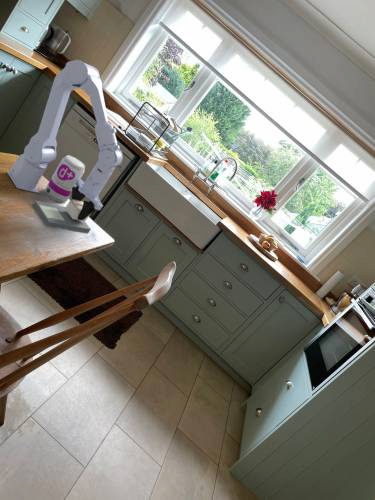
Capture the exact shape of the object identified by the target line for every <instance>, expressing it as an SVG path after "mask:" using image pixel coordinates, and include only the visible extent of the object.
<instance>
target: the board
mask: <svg viewBox="0 0 375 500" xmlns="http://www.w3.org/2000/svg"><path fill="white" fill-rule="evenodd" d="M32 205H33V207H34V208H35V209H36V211H37V213H38V214H39V216H40V218H41V219H42V220H43V222H44V223H45V225H46V226H47V227H50V228H56V229H57V228H58V229H64V230H69V231H76V232H77V231H78V232H82V233H87V234H88V233H90V231H91V228H90V226H89V225H88V223H87V222H86V221H82V220H74V219H72V218H71V217H70V215H69V213H68V212H67V211H66V209H65V208H66V206H62V205H58V204H53V203H49V202H43V201H39V200H34V201H33V204H32Z"/></svg>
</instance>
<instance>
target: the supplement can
mask: <svg viewBox="0 0 375 500" xmlns="http://www.w3.org/2000/svg"><path fill="white" fill-rule="evenodd" d="M85 169H86V165H85V163H84V162H83V161H81V160H80V159H78V158H77V157H74V156H72V155H70V154H68V155H66V156H64V157H62V159H61V161H60V162H59V164H58V166H57V168H56V170H55V171H54V172H53V175H52V176H51V178H50V180H49V181H48V184H47V185H46V187H45V194H46V195H47V196H48V197H49V198H50V199H51V200H53V201H55V202H56V203H57V202H58V203H66V202H68V199H70V198H71V197H70V196H72V187H77V185H76V184H75V183H74V182H75V181H76V179H77V178H78V179H81V178H82V177H83V175H84V173H85V172H86V171H85ZM81 180H82V179H81Z"/></svg>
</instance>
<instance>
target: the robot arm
mask: <svg viewBox="0 0 375 500" xmlns="http://www.w3.org/2000/svg"><path fill="white" fill-rule="evenodd" d="M102 82H103V81H102V79H101V78H100V72H99V70H98V69H97V67H95V66H93V65H91V64H87V63H85V62H84V61H83V60H80V59H74V60H71V61H67V62H66V63H65V66H64V68H62V70H60V72H58V73H57V74H56V76H55V77H54V80H53V83H52V86H51V88H50V92H49V94H48V95H49V97H48V99H47V102H46V105H45V109H44V112H43V115H42V118H41V121H40V124H39V128H38V131H37V132H36V133H35V134H34V135H33V136H32V137H31V138H30V139H29V143H28V144H26V146H25V148H24V151H23V153H22V154H20V155H18V157H16V159H15V161H14V164H13V165H12V168H11V169H10V171H9V170H7V171H6V172H7V175H8V177H10V179H11V181H12V183H13V184H14V186H15V187H16V188H17V189H20V190H22V191H23V190H24V191H28V192H32V193H37V194H39V193H40V191H39V190H38V188H37V185H38V184H39V181H41V178H42V176H43V175H44V173H45V171H46V170H47V167H48V164H49V163H52V162H54V161H55V160H56V158H57V145H58V143H57V142H58V141H57V139H56V137H57V134H58V132H59V129H60V125H61V122H62V120H63V116H64V113H65V110H66V107H67V104H68V102H69V99H70V95H71V92H72V91H75V90H78V89H81V90H82V91H83V92H84V93H85V94H86V95H87V96H88V97H89V100H90V104H91V108H92V110H93V114H94V117H95V121H96V124H95V127H94V132H95V136H96V140H97V141H96V142H97V145H98V149H99V153H98V158H97V159H98V160H97V162H96V164H95V165H94V166H93V168H92V170H91V172H90V173H89V174H88V176H87V178H86V180H85V181H83V180H82V179H78V178H77V179H76V181H75V182H74V183H75V184H76V187H72V193H71V197H70V200H71V199H74V200H78V201H83V207H82V210H81V212H80V213H79V215H78V220H84V219H85V218H86V217H87V216H88V215H89V216H90V215H92V214H93V213H94V212H97V211H101V210H102V208H103V207H104V205H103V204H102V202H101V200H100V197H99V196H100V193H101V191H102V190H103V189H104V187H105V185H106V184H107V183H108V181H109V179H110V177H112V174H113V172H114V171H115V169H116V167H117V166H119V165H121V164H122V163H123V157H124V156H123V154H124V153H123V151H122V150H121V148H120V145H119V144H118V141H117V136H116V134H117V129H116V128H115V127H114V125H113V124H112V123H111V122H109V119H108V114H107V108H106V103H105V97H104V92H103V83H102ZM84 198H87V199H88V200H89V201H87V200H84ZM89 216H88V217H89Z"/></svg>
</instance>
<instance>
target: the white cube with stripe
mask: <svg viewBox="0 0 375 500" xmlns="http://www.w3.org/2000/svg"><path fill="white" fill-rule="evenodd" d="M83 202H84V200H81V201H78V200H74V199H71V198H70V199H69V201H68V203H67V205H66V206H65V207H66V208H65V209H66V211H67V212H68V213H69V215H70V216H71V217H72V219H76V220H78V215H79V213H80V212H81V210H82V207H83ZM89 217H90V215H88V216H87V217H86V218H85V219H84V220H82V221H85V222H86V220H87V219H88V218H89Z"/></svg>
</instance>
